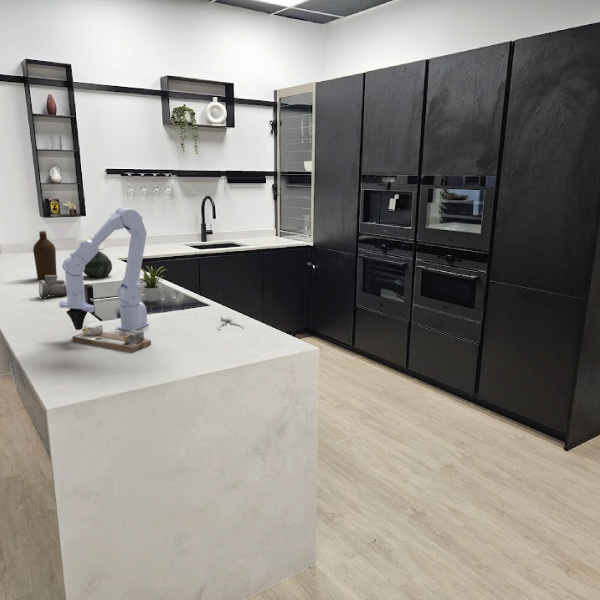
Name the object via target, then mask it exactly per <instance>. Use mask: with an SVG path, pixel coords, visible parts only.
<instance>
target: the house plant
mask: <svg viewBox="0 0 600 600" xmlns="http://www.w3.org/2000/svg"><path fill="white" fill-rule="evenodd" d="M146 267H147V269H148V272H149V274H148V272H147V271H146V270H145V269H144V268H142V267H141V270H142V273H141V275H142V277H143V278H141V277H139V281H140V284H141V283H142V284H145V285H144V286H143V287H142V288H143V293H144V298H145V301H146V302H149V303H151V302H152V303H154V302H157V301H158V300H159V293H160V285H157V283H160V284H162V282H163V281H164V279H161V278H162V277H163V275H161V276H160V274H161V273H163V272H164V271H167V270H168V269H166V268H165V269H162V268H164V267H165V266H160V267H159V268H158V269H157V268H156V269H154V268H153V266H152V265H151V266H150V267H149V265H148V266H146ZM161 269H162V270H161ZM160 270H161V271H160Z"/></svg>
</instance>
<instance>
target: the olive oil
mask: <svg viewBox="0 0 600 600" xmlns="http://www.w3.org/2000/svg"><path fill="white" fill-rule="evenodd" d="M38 236H39V239H38V240H37V241H36V243H34V245H33V247H32V249H33V250H32V252H33V257H34V263H35V270H36V277H37V280H40V281H41V280H46V278H45V275H55V276H57V277H58V274H57V255H56V247H55V244H54V243H53V242H52V241H51V240H49V239H48V238H47V231H46V230H40V231H39V235H38Z"/></svg>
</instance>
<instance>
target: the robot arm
mask: <svg viewBox="0 0 600 600" xmlns="http://www.w3.org/2000/svg"><path fill="white" fill-rule="evenodd" d="M122 229H125V230H126V231H127V233H128V234H130V240H129V246H128V253H127V259H126V266H125V272H124V278H122V280H121V282H120V286H119V287H118V289H117V292H116V294H117V298H118V299H120V302H119V312H120V314H119V315H120V325H117V326H116V327H115V329H118V330H125V331H128V332H130V331H133V330H137V331H138V330H139V329H142V328H143V327H147V326H149V325H150V323H149V322H148V315H147V312H148V311H147V307H146V305H145V304H144V302H142V299H143V295H142V292H141V289H142V286H141V285H142V284H141V281H140V279H139V278H141V270H142V269H141V268H142V265H143V264H142V263H143V259H144V257H143V256H144V253H145V252H144V251H145V246H146V245H145V244H146V239H147V229H146V228H145V224H144V221H143V217H142V216H141V214H140V213H139V211H137V210H135V209H132V208H126V207H119V208H117V209H116V210H115V212H114V213H112V214H110V216H109V218H108V219H107V220H106V221H105V222H104V223H103V225H102V226H101V227H100V228H99V230H98V231H97V232H96V233H95V234H94V235H93V237H91V239H85V240H84V241H80V242H79V244H78V245H79V246H78V247H77V248H76V249H75V250H74V251H73V252H71V253H70V254H69V257H67V258H65V259H64V260H63V264H62V265H61V267H62V270H63V271H64V272H65V273H64V274H65V275H64V276H65V283H66V291H67V295H66V301H64V300H63V301H60V302H59V301H58V304H59V308H60V309H62V308H65V309H69V310H66V314H67V315H68V316H69V318H70V320H71V322H72V324H73V327H74V329H75V331H80V330H82V329H84V321H85V318H86V316H87V314H88V313H94V312H96V306H95V305H93V304H89V303H87V302H86V295H85V293H86V292H85V283H84V276H83V275H84V270H85V265H87V263H88V262H89V261H90V260H91V259H92V258H93V257H94V256H95V255H96V254H97V253H98V252H99V251H100V250H99V247H100V245H101V244H102V243H104V241H105V240H107V238H108V237H110V235H112V234H113V232H114V231H116V230H117V231H118V230H122Z"/></svg>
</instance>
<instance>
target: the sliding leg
mask: <svg viewBox="0 0 600 600" xmlns="http://www.w3.org/2000/svg"><path fill="white" fill-rule="evenodd" d="M81 331H82V333H84V336H86V335H89V336H95V335H98V334H101V333H103V332H104V331H103V324H102V323H96V322H95V323H94V322H93V323H90V324H87V325H83V328H82V329H81Z"/></svg>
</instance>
